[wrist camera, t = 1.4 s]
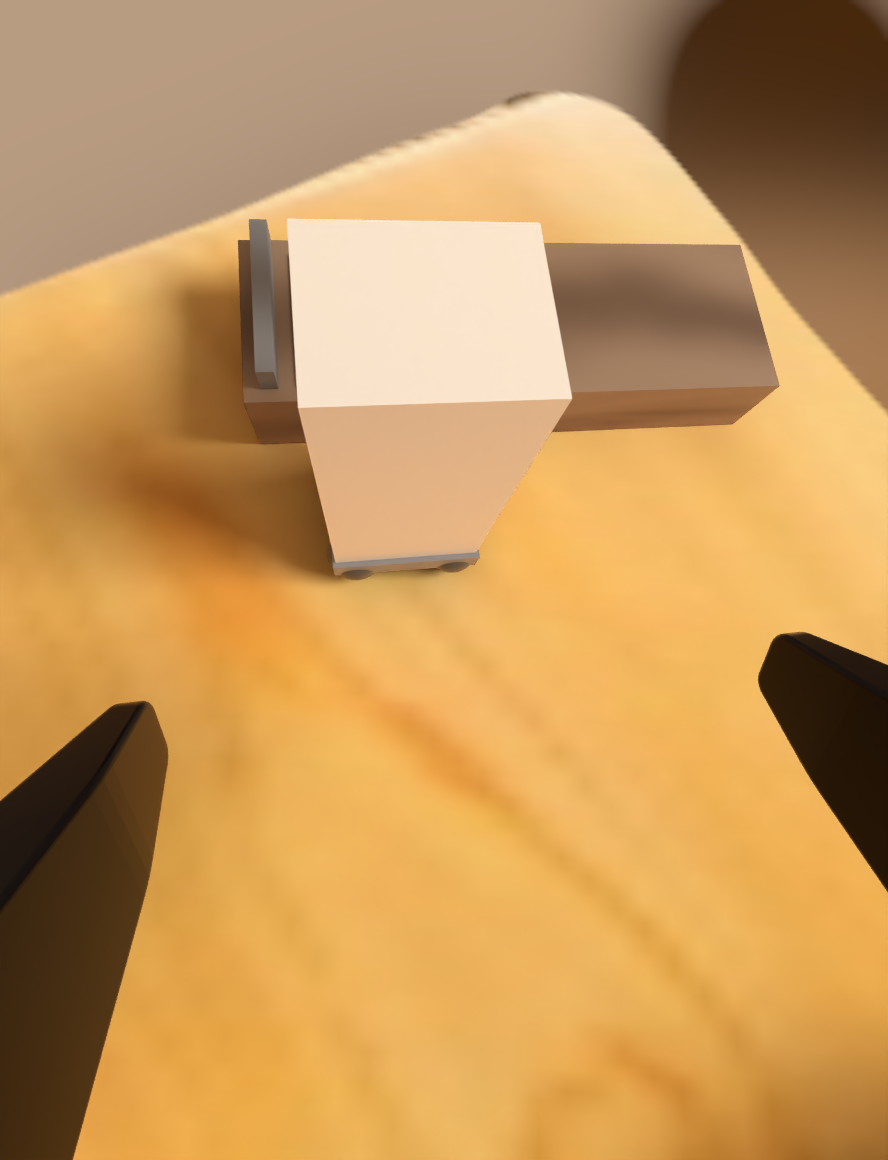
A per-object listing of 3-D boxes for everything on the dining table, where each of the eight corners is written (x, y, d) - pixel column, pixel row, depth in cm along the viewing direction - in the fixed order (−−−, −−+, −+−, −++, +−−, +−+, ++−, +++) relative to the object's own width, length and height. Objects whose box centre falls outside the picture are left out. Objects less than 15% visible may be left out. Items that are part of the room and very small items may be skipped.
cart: (475, 575, 22) (590, 417, 10) (331, 587, 21) (280, 429, 9) (461, 464, 23) (551, 206, 11) (323, 470, 22) (269, 201, 11)
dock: (732, 424, 25) (798, 370, 21) (260, 444, 22) (236, 386, 18) (700, 296, 27) (755, 225, 23) (254, 298, 24) (231, 216, 20)
